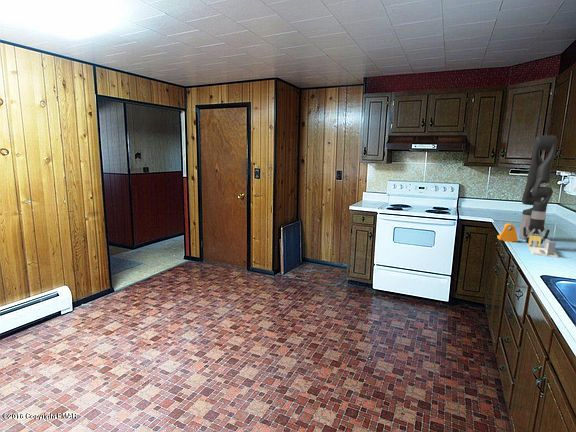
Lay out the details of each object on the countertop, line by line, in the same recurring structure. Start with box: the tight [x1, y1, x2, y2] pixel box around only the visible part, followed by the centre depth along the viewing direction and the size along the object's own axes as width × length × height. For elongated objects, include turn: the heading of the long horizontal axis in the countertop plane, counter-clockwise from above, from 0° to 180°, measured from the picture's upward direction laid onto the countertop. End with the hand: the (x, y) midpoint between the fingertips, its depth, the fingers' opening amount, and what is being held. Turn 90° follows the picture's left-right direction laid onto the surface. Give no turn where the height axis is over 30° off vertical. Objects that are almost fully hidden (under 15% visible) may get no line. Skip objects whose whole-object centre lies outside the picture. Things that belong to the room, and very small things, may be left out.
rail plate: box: [527, 238, 559, 258], centre depth 213 cm, size 24×12×8 cm, turn 152°
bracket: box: [497, 222, 519, 243], centre depth 238 cm, size 11×7×12 cm, turn 72°
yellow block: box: [527, 234, 542, 246], centre depth 220 cm, size 5×6×6 cm
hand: (533, 243), depth 221 cm, fingers closed on yellow block, 6 cm apart
